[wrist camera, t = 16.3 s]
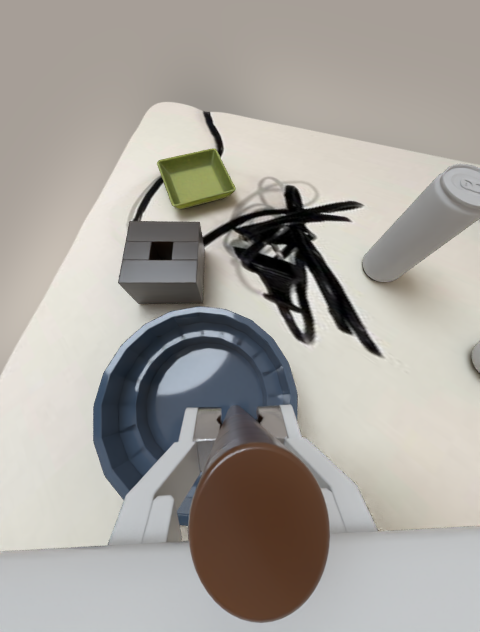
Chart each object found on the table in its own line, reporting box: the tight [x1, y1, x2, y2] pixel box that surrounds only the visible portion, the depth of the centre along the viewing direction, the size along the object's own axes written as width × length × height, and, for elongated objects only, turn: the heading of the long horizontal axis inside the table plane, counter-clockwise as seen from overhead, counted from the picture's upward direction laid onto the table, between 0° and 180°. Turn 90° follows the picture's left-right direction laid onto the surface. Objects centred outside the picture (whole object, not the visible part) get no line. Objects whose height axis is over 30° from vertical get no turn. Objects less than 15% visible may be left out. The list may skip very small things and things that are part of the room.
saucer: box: [157, 149, 235, 209], centre depth 32 cm, size 9×9×2 cm
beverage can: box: [362, 164, 480, 282], centre depth 23 cm, size 5×5×12 cm
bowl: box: [93, 306, 298, 526], centre depth 20 cm, size 15×15×6 cm
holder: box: [118, 221, 205, 304], centre depth 25 cm, size 7×7×5 cm
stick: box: [188, 405, 330, 623], centre depth 12 cm, size 2×2×20 cm
